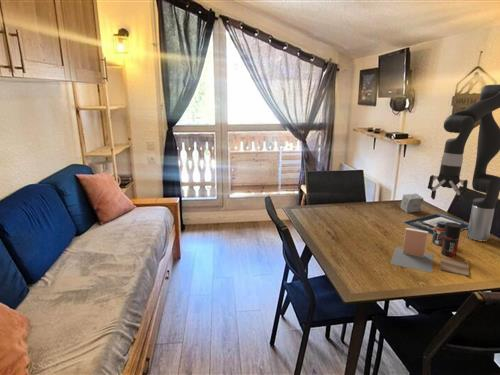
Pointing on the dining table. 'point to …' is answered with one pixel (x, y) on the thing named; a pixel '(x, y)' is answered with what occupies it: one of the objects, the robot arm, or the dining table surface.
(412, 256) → the mat
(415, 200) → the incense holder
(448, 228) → the deodorant
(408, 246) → the tile
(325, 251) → the dining table surface
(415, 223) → the dark picture frame
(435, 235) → the supplement bottle
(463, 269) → the rest board
